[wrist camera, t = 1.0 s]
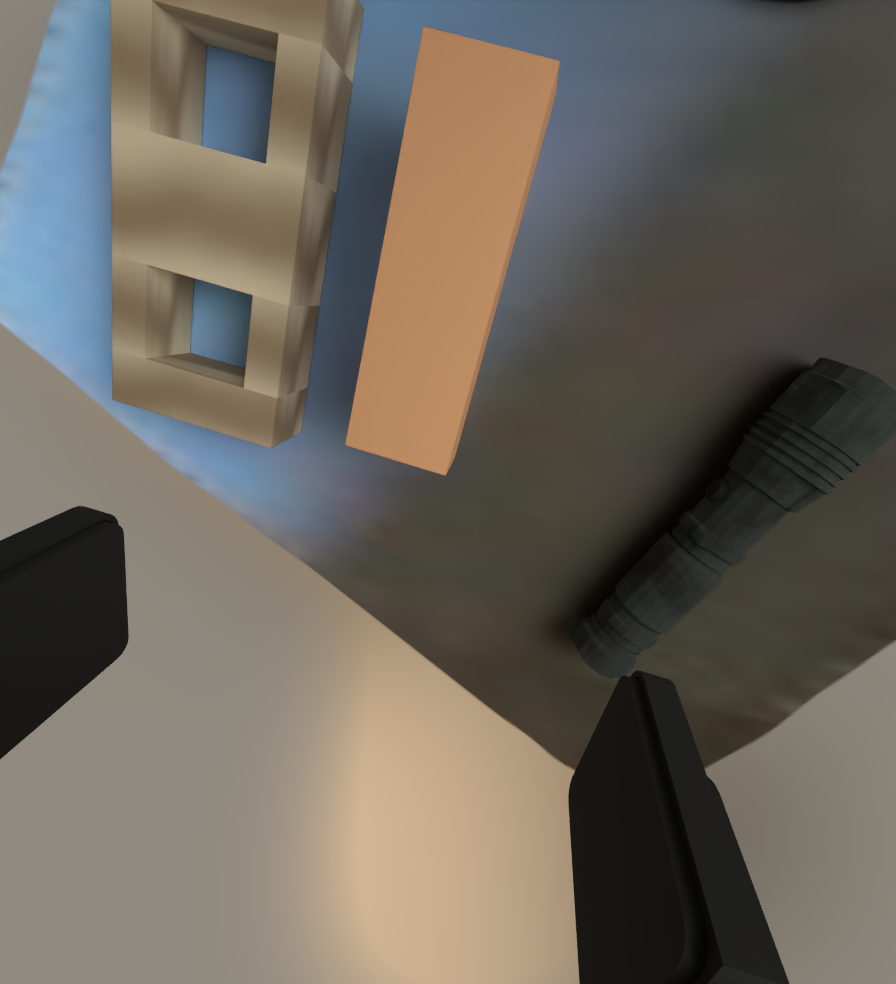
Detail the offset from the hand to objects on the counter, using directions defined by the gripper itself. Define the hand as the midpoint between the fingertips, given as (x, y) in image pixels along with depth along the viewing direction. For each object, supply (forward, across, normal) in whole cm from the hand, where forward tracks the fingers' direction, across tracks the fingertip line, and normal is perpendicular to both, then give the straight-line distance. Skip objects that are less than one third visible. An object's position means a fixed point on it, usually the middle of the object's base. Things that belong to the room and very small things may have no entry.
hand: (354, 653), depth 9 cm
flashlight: (+23, -15, +4) cm, 28 cm away
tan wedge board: (+23, +3, -6) cm, 24 cm away
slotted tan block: (+23, +16, -6) cm, 28 cm away
